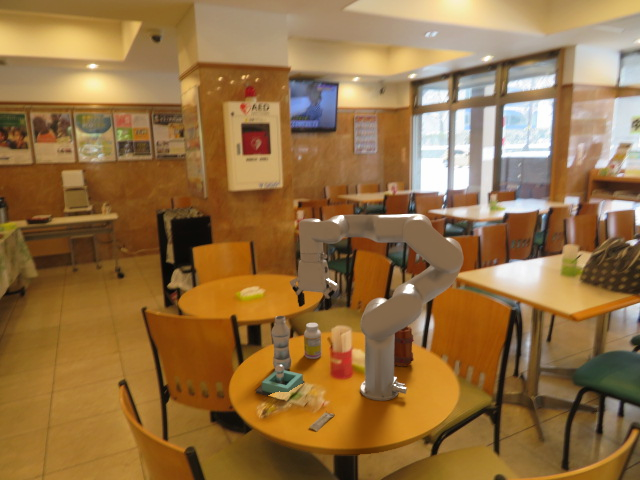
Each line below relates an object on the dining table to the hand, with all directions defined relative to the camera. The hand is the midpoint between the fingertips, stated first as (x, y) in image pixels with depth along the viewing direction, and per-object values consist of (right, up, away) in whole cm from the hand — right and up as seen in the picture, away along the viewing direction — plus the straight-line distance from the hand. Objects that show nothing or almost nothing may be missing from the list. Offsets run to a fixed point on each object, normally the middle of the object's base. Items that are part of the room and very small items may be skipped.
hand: (314, 307), depth 145 cm
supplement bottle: (-1, -23, +27) cm, 35 cm away
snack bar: (+2, -32, -16) cm, 36 cm away
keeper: (-12, -28, +3) cm, 30 cm away
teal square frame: (-11, -27, +3) cm, 29 cm away
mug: (+30, -24, +20) cm, 43 cm away
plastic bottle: (-12, -26, +17) cm, 33 cm away
